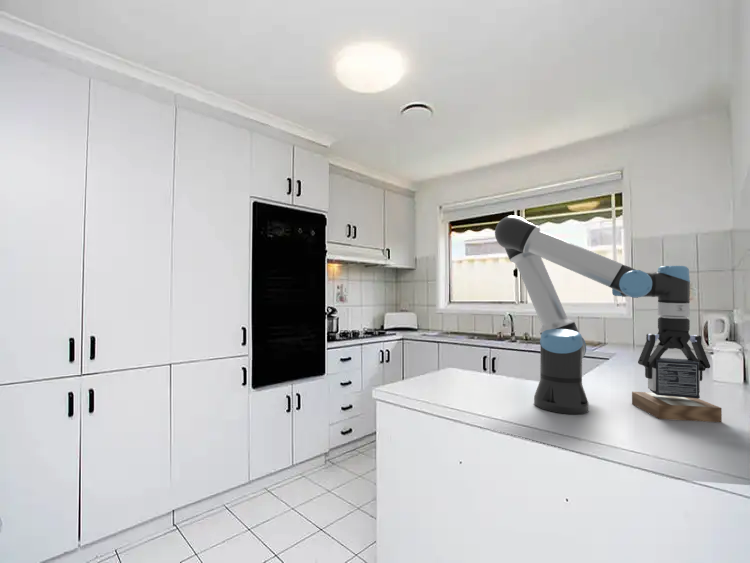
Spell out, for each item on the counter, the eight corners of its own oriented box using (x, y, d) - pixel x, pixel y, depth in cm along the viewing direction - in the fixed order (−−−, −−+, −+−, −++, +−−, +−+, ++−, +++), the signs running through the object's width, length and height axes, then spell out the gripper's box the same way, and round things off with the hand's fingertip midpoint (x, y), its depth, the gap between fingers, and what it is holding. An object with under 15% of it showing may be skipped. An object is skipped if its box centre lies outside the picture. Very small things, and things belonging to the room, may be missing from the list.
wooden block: (658, 418, 107) (658, 404, 107) (632, 404, 121) (632, 391, 121) (721, 422, 105) (721, 407, 105) (687, 406, 119) (686, 393, 119)
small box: (690, 393, 114) (690, 358, 115) (700, 399, 108) (700, 362, 108) (648, 389, 118) (648, 356, 118) (656, 395, 112) (656, 359, 112)
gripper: (638, 317, 111) (637, 391, 111) (726, 319, 108) (727, 396, 108) (624, 315, 119) (624, 385, 118) (707, 317, 116) (707, 389, 115)
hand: (673, 390), depth 113 cm, fingers closed on small box, 11 cm apart
